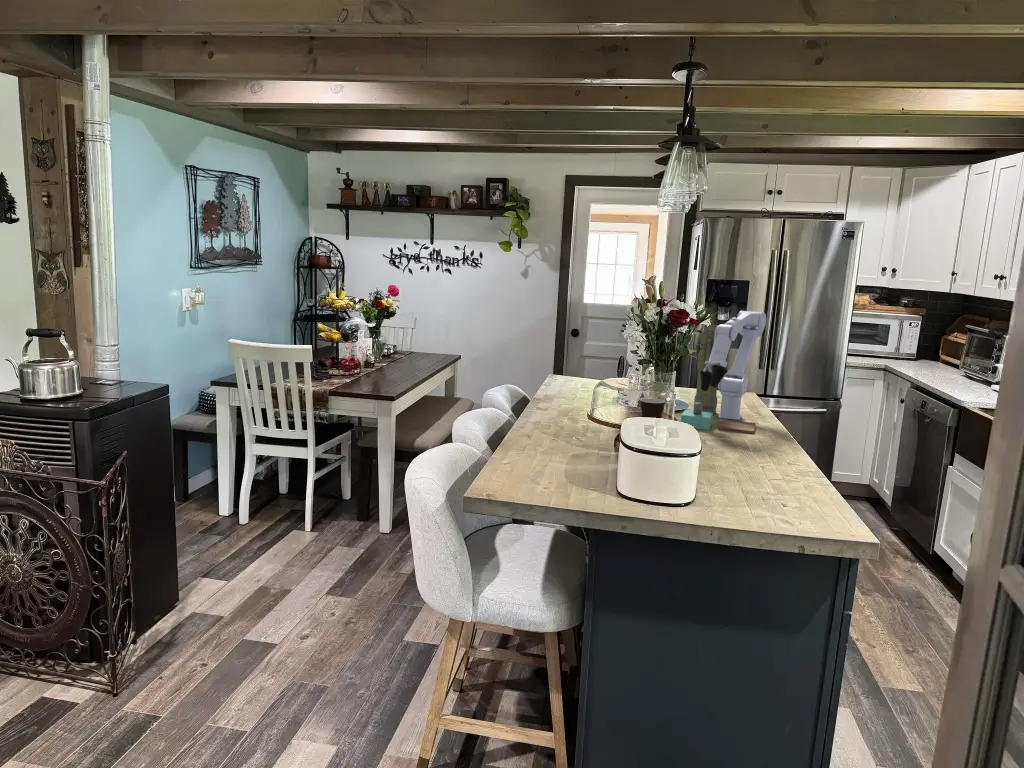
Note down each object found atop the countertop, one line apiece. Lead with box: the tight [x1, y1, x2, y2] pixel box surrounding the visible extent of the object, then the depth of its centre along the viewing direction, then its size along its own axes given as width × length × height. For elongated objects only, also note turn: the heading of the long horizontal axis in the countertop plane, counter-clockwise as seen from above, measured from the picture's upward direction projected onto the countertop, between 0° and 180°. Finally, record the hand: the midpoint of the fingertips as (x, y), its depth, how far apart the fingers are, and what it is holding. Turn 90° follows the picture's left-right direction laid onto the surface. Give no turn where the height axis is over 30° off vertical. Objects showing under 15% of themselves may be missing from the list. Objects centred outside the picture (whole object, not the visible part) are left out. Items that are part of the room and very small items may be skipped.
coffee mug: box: [639, 397, 666, 418], centre depth 245 cm, size 12×9×10 cm
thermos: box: [693, 323, 718, 415], centre depth 271 cm, size 9×12×35 cm
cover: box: [680, 401, 714, 431], centre depth 250 cm, size 10×10×8 cm
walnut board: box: [718, 418, 757, 435], centre depth 249 cm, size 14×12×1 cm
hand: (708, 388), depth 246 cm, fingers open, 7 cm apart
